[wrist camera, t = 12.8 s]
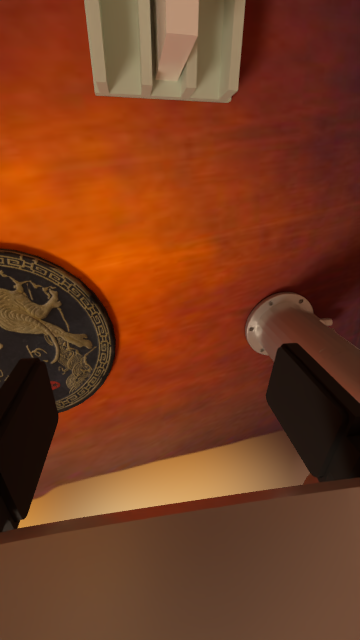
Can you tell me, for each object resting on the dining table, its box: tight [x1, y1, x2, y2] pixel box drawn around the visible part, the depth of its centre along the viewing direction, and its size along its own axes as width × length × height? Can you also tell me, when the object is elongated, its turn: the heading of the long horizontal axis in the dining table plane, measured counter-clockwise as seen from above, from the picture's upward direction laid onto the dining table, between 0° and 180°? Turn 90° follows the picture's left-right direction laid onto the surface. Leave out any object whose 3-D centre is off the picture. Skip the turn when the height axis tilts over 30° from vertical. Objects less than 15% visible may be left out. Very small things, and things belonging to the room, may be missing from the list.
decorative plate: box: [0, 249, 116, 413], centre depth 40 cm, size 30×2×30 cm
